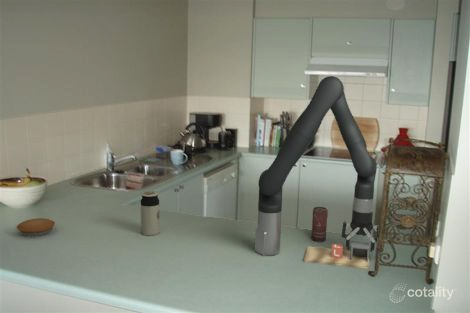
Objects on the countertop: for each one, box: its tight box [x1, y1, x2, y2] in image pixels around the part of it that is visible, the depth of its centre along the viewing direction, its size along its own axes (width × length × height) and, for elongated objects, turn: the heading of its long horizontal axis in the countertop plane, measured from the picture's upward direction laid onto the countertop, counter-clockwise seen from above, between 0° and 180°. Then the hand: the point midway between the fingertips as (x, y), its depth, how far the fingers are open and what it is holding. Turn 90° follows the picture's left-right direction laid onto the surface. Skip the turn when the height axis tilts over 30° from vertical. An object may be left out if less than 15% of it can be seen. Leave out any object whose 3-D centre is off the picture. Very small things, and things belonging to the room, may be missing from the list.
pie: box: [16, 217, 56, 238], centre depth 210 cm, size 15×16×5 cm
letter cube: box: [331, 243, 344, 259], centre depth 187 cm, size 4×4×4 cm
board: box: [303, 245, 370, 270], centre depth 187 cm, size 24×14×1 cm, turn 76°
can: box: [311, 206, 329, 243], centre depth 206 cm, size 6×6×14 cm
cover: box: [350, 241, 370, 262], centre depth 185 cm, size 6×6×6 cm
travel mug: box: [140, 190, 161, 236], centre depth 211 cm, size 8×8×18 cm
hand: (359, 249), depth 184 cm, fingers open, 8 cm apart
